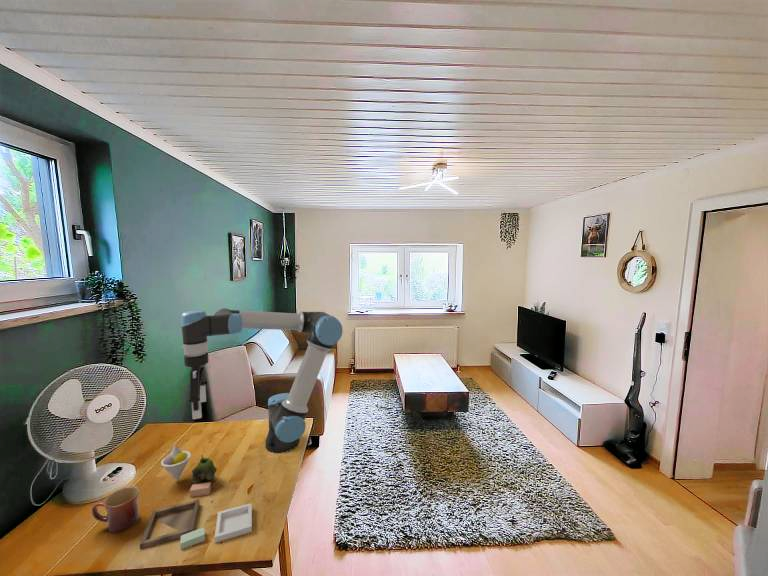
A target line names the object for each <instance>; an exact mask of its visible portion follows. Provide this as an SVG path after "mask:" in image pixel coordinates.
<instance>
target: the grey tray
mask: <svg viewBox="0 0 768 576" xmlns="http://www.w3.org/2000/svg"><path fill="white" fill-rule="evenodd" d="M252 524H253V504H252V502H251V503H247V504H243V505H239V506H235V507H233V508H227V509H225V510H221V511H217V517H216V524H215V531H214V532H215V533H214V543H216V544H217V543H219V542H223V541H226V540H229V539H234V538H239V537H241V536H244V534H245V535H248V534H250V533H249V532H252V531H253V528H252V527H253V525H252ZM247 533H248V534H247ZM252 533H253V532H252Z"/></svg>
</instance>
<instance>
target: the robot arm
mask: <svg viewBox="0 0 768 576" xmlns="http://www.w3.org/2000/svg"><path fill="white" fill-rule="evenodd" d="M243 329H246V330H247V329H251V330H252V329H253V330H254V329H256V330H277V331H278V330H281V331H282V330H284V331H297V332H298V333H305V334H308V335H307V338H306V342H307V345H308V346H307V348H306V351H305V353H304V356H303V358H302V361H301V363H300V365H299V368H298V371H297V373H296V376H295V378H294V380H293V383H292V385H291V388H290V390H289V392H284V393H283V392H282V393H278V394H275V395H272V396H270V397H269V398H268V401H267V407H268V408H267V410H268V411H267V412H268V432H267V435H266V439H265V442H264V443H265V445H264V447H265V450H266V449H267V450H268V451H267V450H266V451H267V452H270V453H272V452H273V453H272V454H282V453H281V452H285V453H287V452H286V451H288V452H290V451H289V450H291V449H293V450H294V449H296V448H297V447H298V446H299V445H298V444H300V442H301V441H300V439H301V437H302V436H303V435H304V433H305V432H306V417H307V415H308V412H309V408H308V402H309V399H310V397H311V395H312V392H313V390H314V386H315V385H316V382H317V379H318V377H319V374H320V371H321V369H322V366H323V364H324V362H325V359H326V356H327V353H328V352H331V351H332V350H333V348H334V345H335V344H337V343H338V342H339V341H340V339H341V338H342V335H343V330H344V329H343V325H342V323H341V321H340V320H339V319H338V318H336V317H335V316H334V315H330V314H328V313H326V312H324V311H299V312H298V313H296V312H295V313H292V312H275V311H255V310H241V309H239V310H237V309H229V308H220V309H218V310H217V311H216V312H215V313H214V315H207V313H206V311H205V310H190V311H184V312H183V313H182V314H181V333H182V335H181V336H182V346H181V347H180V348H181V349H183V354H184V356H183V359H184V366H185V367H187V368H191V369H190V371H189V376H190V383H189V384H190V385H189V386H190V388H189V389H190V392H189V394H190V398H189V399H188V403H191V414H192V420H197V419H202V417H203V413H202V403H205V402H207V391H206V385H207V384H208V380H207V378H206V375H205V374H206V373H205V367H204V365H207V364H208V363H209V353H208V351H209V344H208V343H209V341H208V337H213V336H223V335H234V334H239V333H241V332H242V331H243ZM295 447H296V448H295ZM291 451H292V450H291Z"/></svg>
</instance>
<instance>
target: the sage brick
mask: <svg viewBox="0 0 768 576" xmlns="http://www.w3.org/2000/svg"><path fill="white" fill-rule="evenodd" d="M205 537H206V532H205V526H203V527H201V528H198V529H196V530H195V529H194V531H192V532H189V533H187V534H184V535H181V538H180V541H179V542H180V544H179V545H180V550H183V549H185V548H188V547H191V546H193V545H197V544H199V543H202V542H205V539H206V538H205Z"/></svg>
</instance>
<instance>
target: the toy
mask: <svg viewBox="0 0 768 576" xmlns="http://www.w3.org/2000/svg"><path fill="white" fill-rule="evenodd" d="M190 458H191V452H190V451H188V450H181V449H180V448H179V447H178V445H177V444H174V445H173V448H172V450H171V451H170V453H168V454H167V455H166V456H165V457H163V458H162V460H161V461H160V464H161V466H162V467H163V468H164V470H166V471H167V472H168V474H170V476H171V477H172V478H173V479H174V480H175V481H176V482H179V480H180V477H181V476H182V473H183V472H184V470H185V467H186V466H187V464H188V461H189V459H190Z"/></svg>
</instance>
